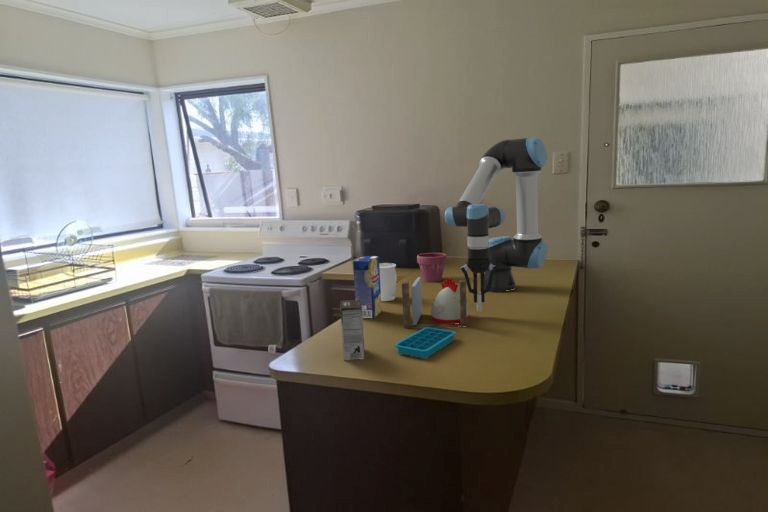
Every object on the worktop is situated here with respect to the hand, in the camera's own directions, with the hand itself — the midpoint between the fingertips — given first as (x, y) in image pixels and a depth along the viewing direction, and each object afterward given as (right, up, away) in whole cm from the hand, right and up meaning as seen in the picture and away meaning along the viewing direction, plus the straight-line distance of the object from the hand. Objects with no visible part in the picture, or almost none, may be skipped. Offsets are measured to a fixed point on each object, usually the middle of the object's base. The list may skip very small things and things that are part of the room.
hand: (479, 310), depth 186 cm
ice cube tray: (-22, -9, -28) cm, 36 cm away
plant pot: (-11, +8, +64) cm, 66 cm away
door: (-23, -3, 0) cm, 24 cm away
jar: (-34, +1, +32) cm, 47 cm away
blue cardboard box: (-41, -3, +10) cm, 42 cm away
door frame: (-17, -5, -8) cm, 20 cm away
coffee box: (-44, -10, -32) cm, 55 cm away
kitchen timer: (-11, -3, 0) cm, 11 cm away
